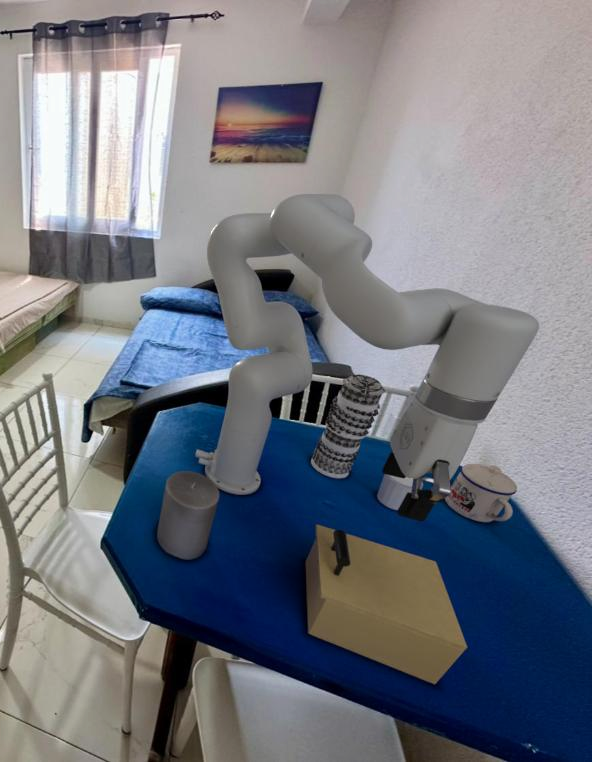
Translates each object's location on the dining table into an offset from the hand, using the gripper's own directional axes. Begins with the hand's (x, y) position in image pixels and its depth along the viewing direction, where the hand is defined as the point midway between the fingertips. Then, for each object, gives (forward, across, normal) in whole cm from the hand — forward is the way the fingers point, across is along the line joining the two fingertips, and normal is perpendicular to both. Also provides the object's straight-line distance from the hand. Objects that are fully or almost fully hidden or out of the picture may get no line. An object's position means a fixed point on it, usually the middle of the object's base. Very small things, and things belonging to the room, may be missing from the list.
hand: (400, 494), depth 62 cm
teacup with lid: (+23, -32, +28) cm, 48 cm away
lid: (+13, +5, +1) cm, 14 cm away
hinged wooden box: (+22, +5, +1) cm, 23 cm away
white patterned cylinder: (+22, -36, 0) cm, 42 cm away
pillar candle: (+22, +2, -30) cm, 37 cm away
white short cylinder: (+22, -29, +12) cm, 38 cm away
